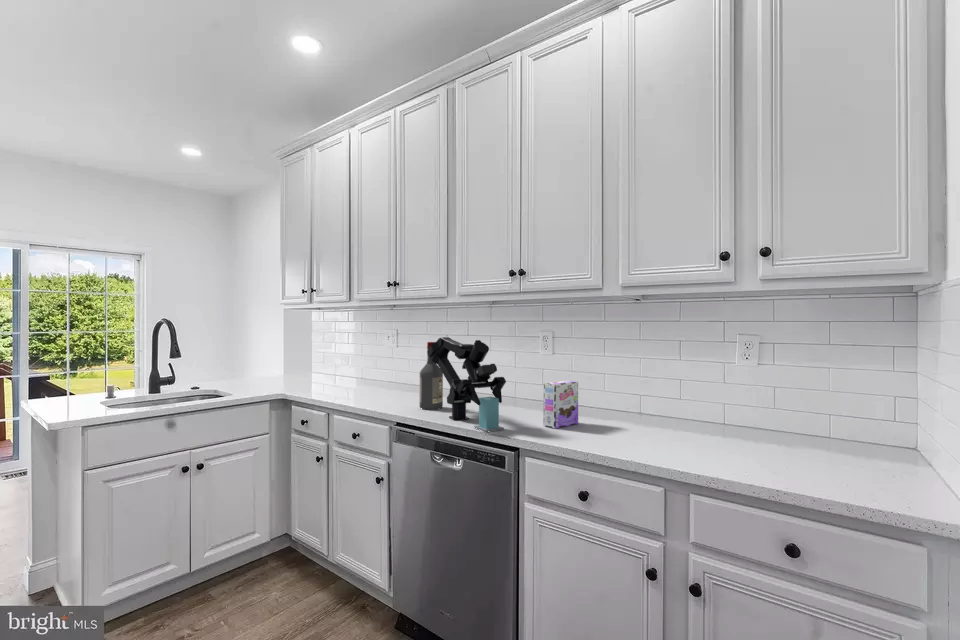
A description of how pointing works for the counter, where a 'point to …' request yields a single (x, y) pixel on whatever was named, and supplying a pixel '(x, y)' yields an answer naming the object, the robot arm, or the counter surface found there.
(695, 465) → the counter surface
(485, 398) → the teal rectangular block
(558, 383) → the candy box
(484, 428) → the post stand
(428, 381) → the liquor
